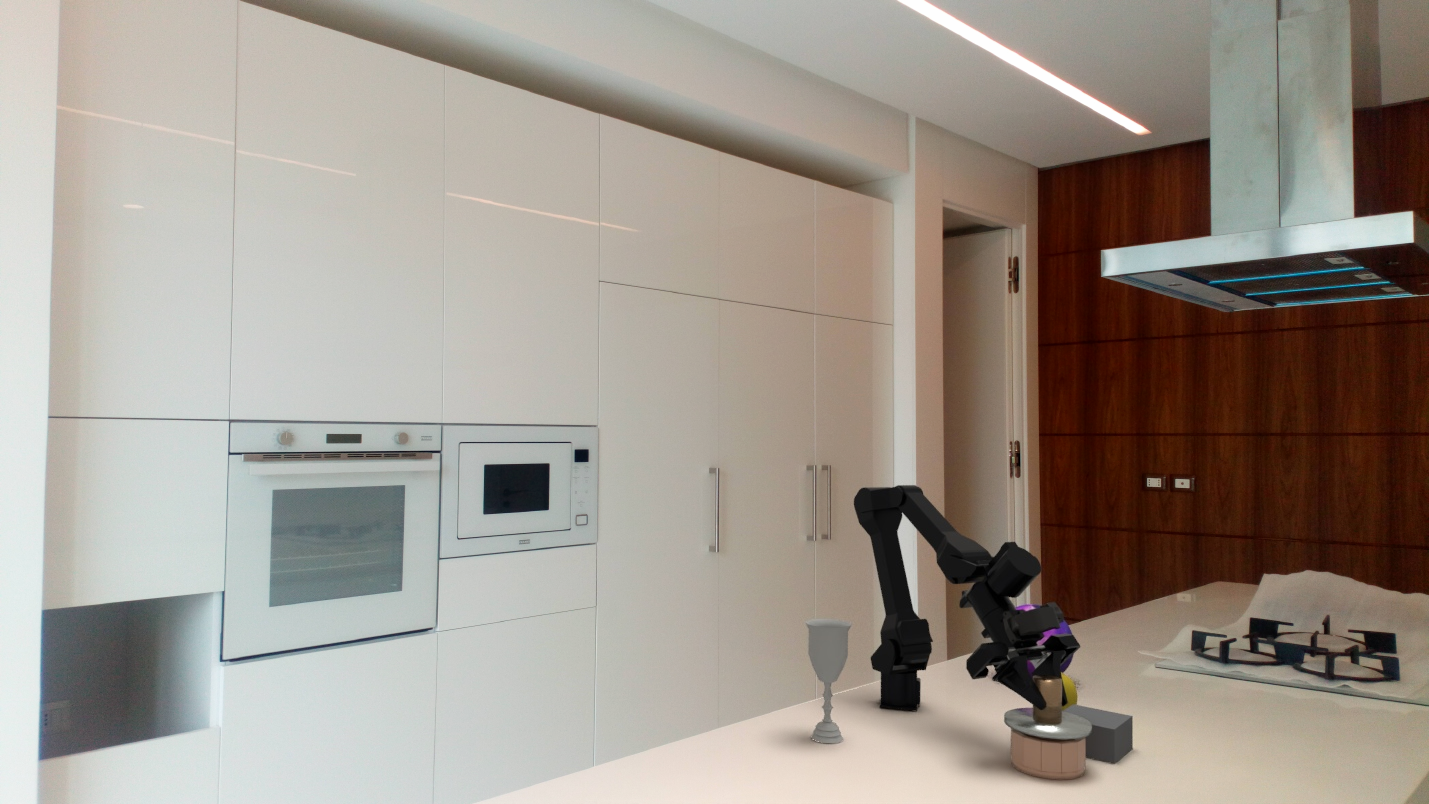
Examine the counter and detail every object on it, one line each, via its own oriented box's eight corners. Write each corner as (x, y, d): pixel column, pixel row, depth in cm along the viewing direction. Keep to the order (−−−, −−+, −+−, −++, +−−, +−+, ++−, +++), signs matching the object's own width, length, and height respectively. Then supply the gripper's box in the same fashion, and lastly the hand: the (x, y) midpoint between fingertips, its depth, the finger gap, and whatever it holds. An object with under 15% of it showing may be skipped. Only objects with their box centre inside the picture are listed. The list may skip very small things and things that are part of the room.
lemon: (1080, 725, 151) (1080, 677, 152) (1045, 722, 152) (1045, 674, 153) (1074, 715, 157) (1074, 668, 157) (1040, 713, 158) (1040, 666, 158)
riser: (1053, 749, 139) (1053, 716, 139) (1073, 735, 146) (1073, 704, 146) (1114, 763, 133) (1114, 729, 134) (1132, 748, 140) (1132, 715, 140)
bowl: (1013, 774, 128) (1013, 739, 128) (1008, 751, 138) (1009, 718, 138) (1089, 782, 126) (1089, 746, 126) (1079, 758, 135) (1079, 724, 135)
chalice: (854, 734, 144) (855, 620, 145) (846, 748, 138) (847, 629, 139) (809, 729, 147) (810, 617, 148) (799, 742, 140) (800, 625, 141)
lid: (992, 727, 131) (992, 679, 131) (1018, 707, 140) (1019, 663, 141) (1079, 745, 124) (1079, 694, 124) (1100, 723, 133) (1101, 677, 134)
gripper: (980, 588, 132) (1039, 683, 122) (1070, 580, 141) (1132, 669, 130) (942, 631, 139) (995, 726, 128) (1031, 622, 147) (1087, 709, 137)
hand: (1054, 706), depth 131 cm, fingers closed on lid, 4 cm apart
